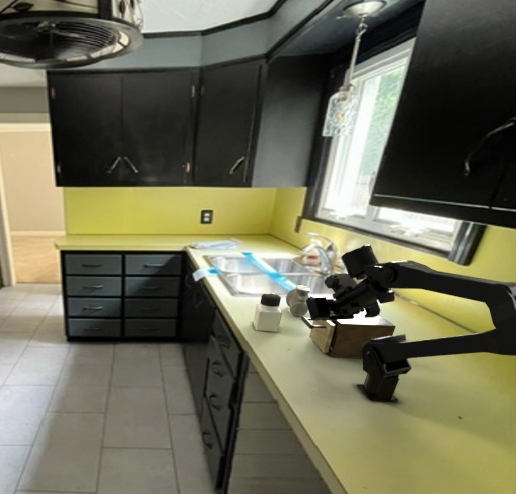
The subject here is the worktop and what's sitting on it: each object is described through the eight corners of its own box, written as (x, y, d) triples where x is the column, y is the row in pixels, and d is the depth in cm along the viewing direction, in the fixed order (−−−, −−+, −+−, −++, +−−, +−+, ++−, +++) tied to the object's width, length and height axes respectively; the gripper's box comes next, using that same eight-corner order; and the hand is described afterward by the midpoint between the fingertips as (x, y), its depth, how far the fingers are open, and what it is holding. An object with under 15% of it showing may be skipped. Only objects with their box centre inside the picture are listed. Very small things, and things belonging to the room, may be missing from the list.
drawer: (306, 351, 108) (313, 324, 104) (293, 335, 118) (299, 310, 115) (371, 355, 106) (381, 327, 103) (352, 338, 116) (360, 313, 113)
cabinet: (331, 356, 107) (341, 323, 103) (314, 338, 118) (322, 308, 114) (383, 359, 106) (396, 325, 101) (361, 341, 117) (371, 310, 113)
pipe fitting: (283, 304, 147) (290, 281, 142) (304, 308, 145) (313, 285, 140) (283, 317, 138) (292, 293, 132) (306, 322, 135) (316, 297, 130)
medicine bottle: (278, 332, 123) (285, 298, 118) (256, 330, 124) (262, 297, 119) (273, 324, 129) (280, 292, 124) (253, 322, 131) (258, 290, 126)
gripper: (385, 265, 93) (344, 293, 108) (319, 266, 91) (285, 295, 106) (401, 304, 90) (356, 327, 104) (331, 307, 87) (295, 330, 102)
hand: (323, 319), depth 104 cm, fingers closed
